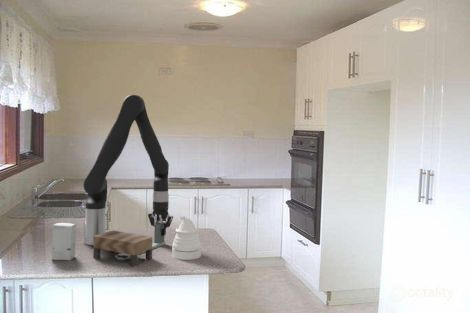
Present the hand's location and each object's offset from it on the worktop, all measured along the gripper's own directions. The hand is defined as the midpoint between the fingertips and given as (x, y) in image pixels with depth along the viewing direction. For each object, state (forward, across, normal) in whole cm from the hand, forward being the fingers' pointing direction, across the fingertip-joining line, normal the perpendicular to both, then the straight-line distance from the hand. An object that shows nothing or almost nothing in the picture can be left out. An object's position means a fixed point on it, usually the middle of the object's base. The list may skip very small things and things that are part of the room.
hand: (160, 235), depth 224 cm
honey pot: (+5, +21, -9) cm, 23 cm away
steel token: (+5, 0, -27) cm, 27 cm away
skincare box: (+5, -21, -40) cm, 45 cm away
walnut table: (+4, 0, -27) cm, 27 cm away
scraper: (+5, 0, -9) cm, 10 cm away
